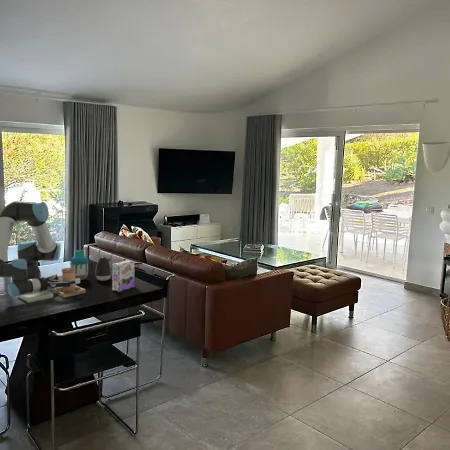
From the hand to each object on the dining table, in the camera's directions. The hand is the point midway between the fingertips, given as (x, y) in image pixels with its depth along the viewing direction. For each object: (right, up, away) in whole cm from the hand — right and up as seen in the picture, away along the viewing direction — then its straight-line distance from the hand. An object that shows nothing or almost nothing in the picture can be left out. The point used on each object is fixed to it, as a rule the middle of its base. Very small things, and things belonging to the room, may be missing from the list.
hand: (74, 278), depth 264 cm
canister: (-2, -8, -1) cm, 9 cm away
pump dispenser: (+10, -4, +28) cm, 30 cm away
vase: (-5, -4, +26) cm, 27 cm away
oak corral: (-2, -8, -1) cm, 9 cm away
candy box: (+27, -8, +9) cm, 30 cm away
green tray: (-18, -9, -11) cm, 23 cm away
